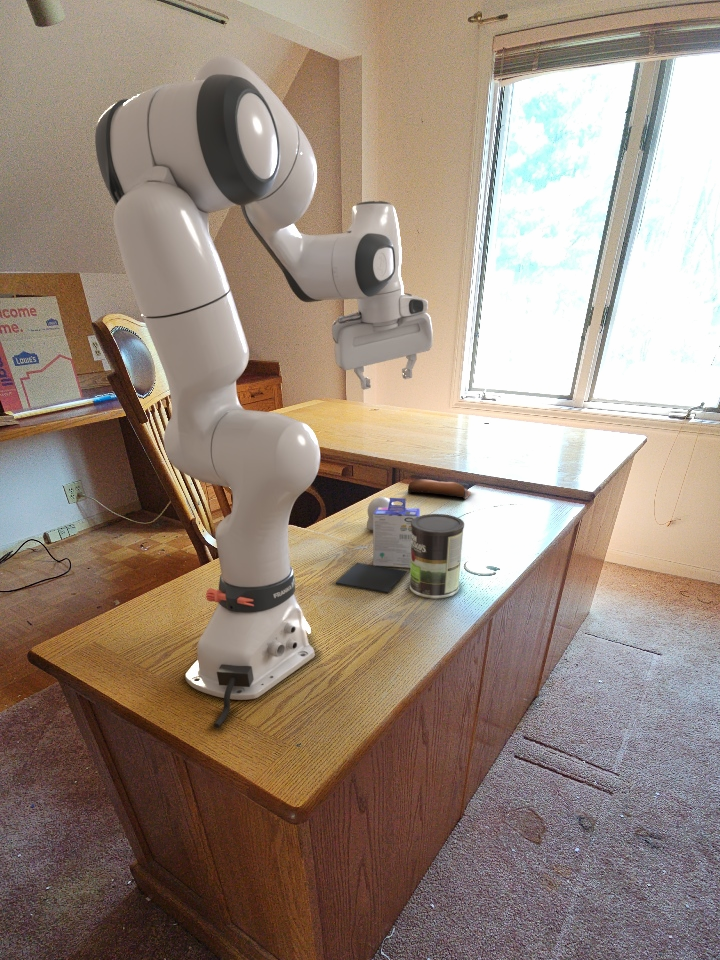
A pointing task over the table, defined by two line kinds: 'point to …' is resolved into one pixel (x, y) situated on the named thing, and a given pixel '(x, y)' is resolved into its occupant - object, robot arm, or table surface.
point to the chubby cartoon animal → (377, 502)
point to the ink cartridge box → (393, 534)
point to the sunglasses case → (438, 488)
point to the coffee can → (435, 555)
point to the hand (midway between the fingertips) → (386, 383)
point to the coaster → (371, 577)
